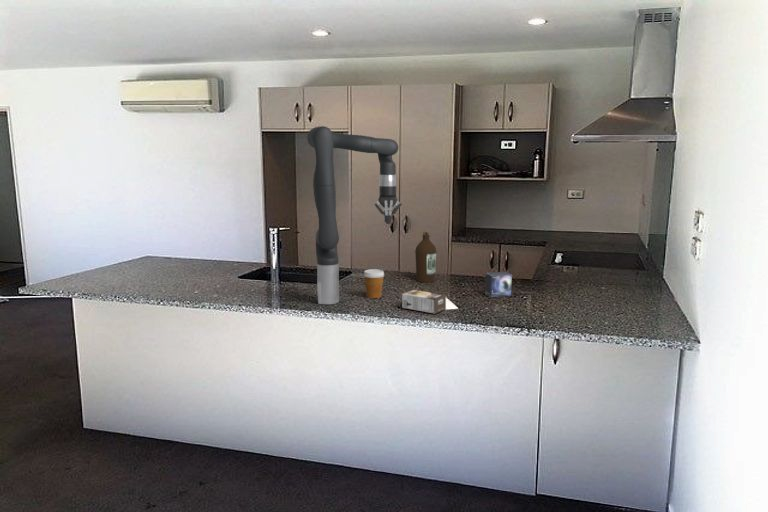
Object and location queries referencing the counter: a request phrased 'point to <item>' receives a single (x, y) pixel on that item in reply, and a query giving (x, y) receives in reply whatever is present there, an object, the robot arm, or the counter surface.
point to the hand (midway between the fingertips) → (387, 223)
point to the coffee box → (424, 301)
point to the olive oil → (425, 260)
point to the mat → (450, 305)
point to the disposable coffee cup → (373, 282)
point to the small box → (498, 284)
